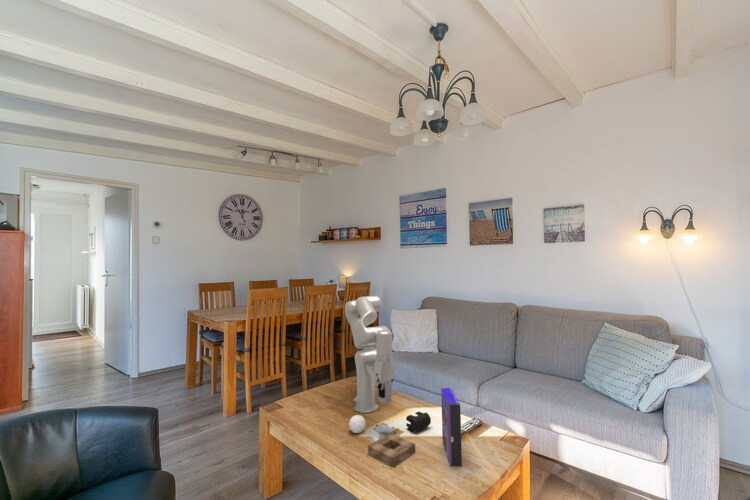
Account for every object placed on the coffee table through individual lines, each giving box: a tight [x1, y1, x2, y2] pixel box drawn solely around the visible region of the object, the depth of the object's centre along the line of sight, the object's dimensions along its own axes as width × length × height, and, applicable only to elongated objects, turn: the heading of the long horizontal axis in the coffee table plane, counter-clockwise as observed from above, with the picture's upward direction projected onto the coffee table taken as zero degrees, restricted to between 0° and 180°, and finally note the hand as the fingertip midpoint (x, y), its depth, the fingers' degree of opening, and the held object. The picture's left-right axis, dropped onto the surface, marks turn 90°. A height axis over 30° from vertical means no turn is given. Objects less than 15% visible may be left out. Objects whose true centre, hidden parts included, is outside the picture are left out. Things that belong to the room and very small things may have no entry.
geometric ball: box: [348, 414, 366, 434], centre depth 170 cm, size 8×8×8 cm
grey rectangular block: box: [378, 380, 392, 405], centre depth 169 cm, size 4×4×10 cm
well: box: [367, 432, 416, 468], centre depth 151 cm, size 14×14×4 cm
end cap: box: [405, 411, 432, 434], centre depth 171 cm, size 10×7×7 cm
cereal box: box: [440, 387, 463, 467], centre depth 150 cm, size 17×5×24 cm, turn 178°
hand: (384, 395), depth 169 cm, fingers closed on grey rectangular block, 4 cm apart
